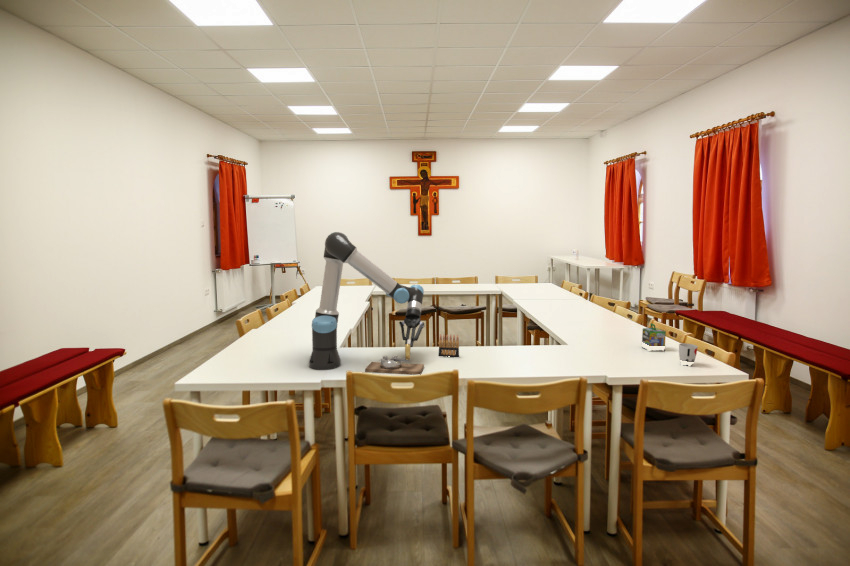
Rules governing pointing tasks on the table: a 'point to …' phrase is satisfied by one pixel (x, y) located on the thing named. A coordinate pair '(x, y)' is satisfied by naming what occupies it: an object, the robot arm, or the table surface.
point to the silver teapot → (395, 360)
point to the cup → (687, 352)
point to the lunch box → (653, 336)
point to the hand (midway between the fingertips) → (407, 352)
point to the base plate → (403, 369)
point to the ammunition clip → (449, 346)
